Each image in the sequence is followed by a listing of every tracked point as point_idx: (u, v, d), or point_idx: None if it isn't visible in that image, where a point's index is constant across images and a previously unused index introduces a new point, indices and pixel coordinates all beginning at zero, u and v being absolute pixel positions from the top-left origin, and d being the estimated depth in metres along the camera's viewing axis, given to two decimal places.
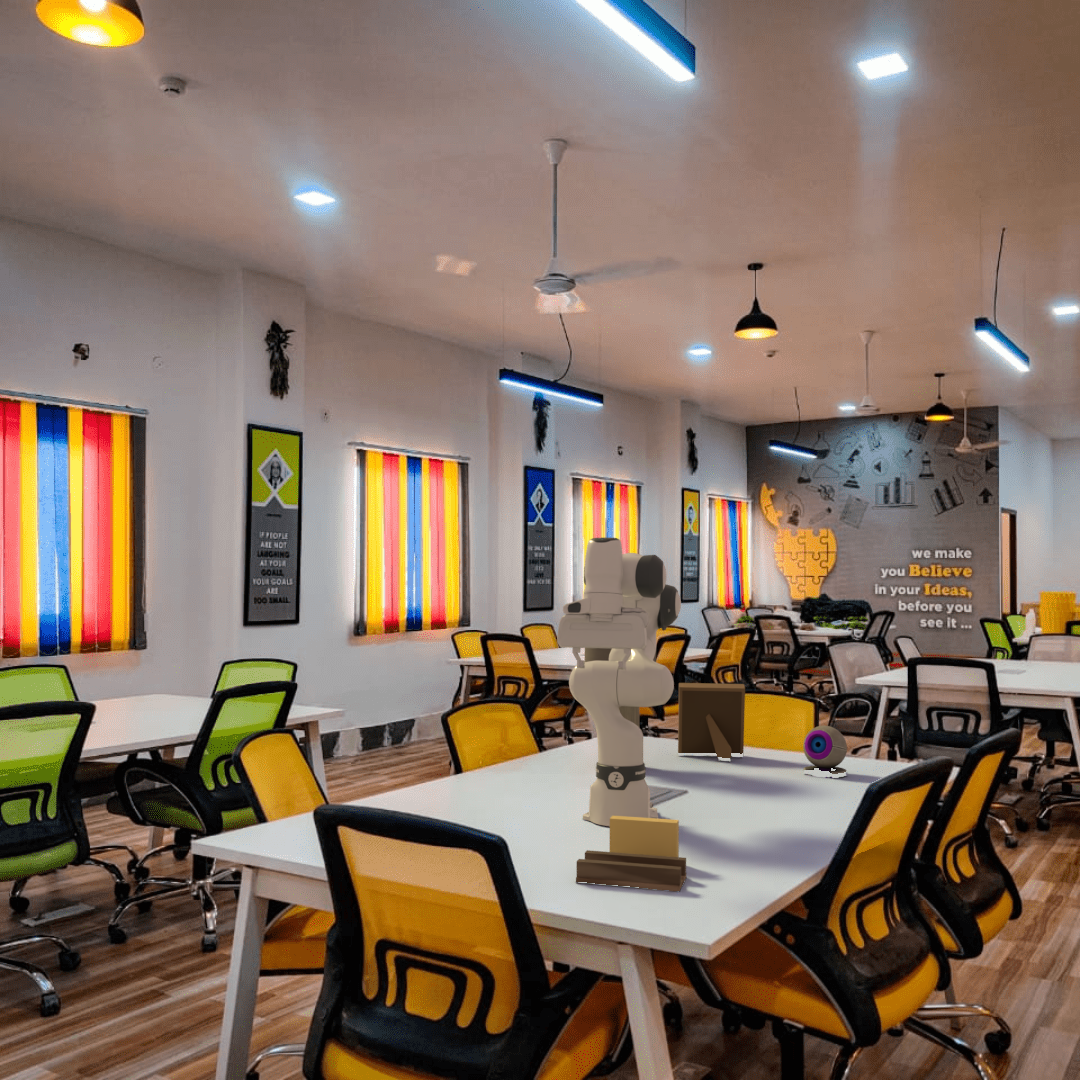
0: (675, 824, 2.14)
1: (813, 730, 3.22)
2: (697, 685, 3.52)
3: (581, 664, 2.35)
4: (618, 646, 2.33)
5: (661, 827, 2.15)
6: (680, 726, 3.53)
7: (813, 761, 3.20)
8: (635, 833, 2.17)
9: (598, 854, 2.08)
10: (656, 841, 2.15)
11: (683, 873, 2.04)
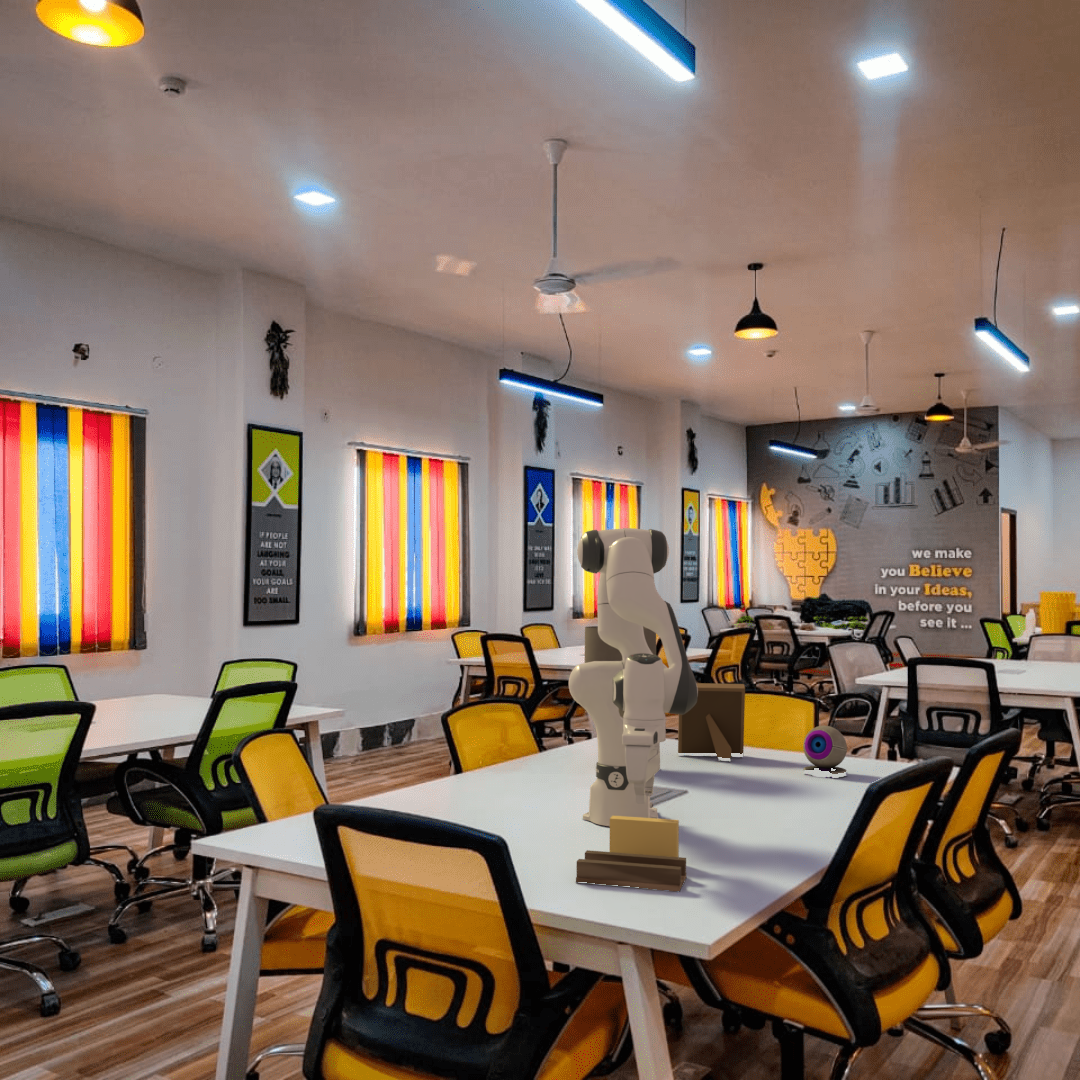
0: (675, 824, 2.14)
1: (813, 730, 3.22)
2: (697, 685, 3.52)
3: None
4: (655, 772, 2.21)
5: (661, 827, 2.15)
6: (680, 726, 3.53)
7: (813, 761, 3.20)
8: (635, 833, 2.17)
9: (598, 854, 2.08)
10: (656, 841, 2.15)
11: (683, 873, 2.04)
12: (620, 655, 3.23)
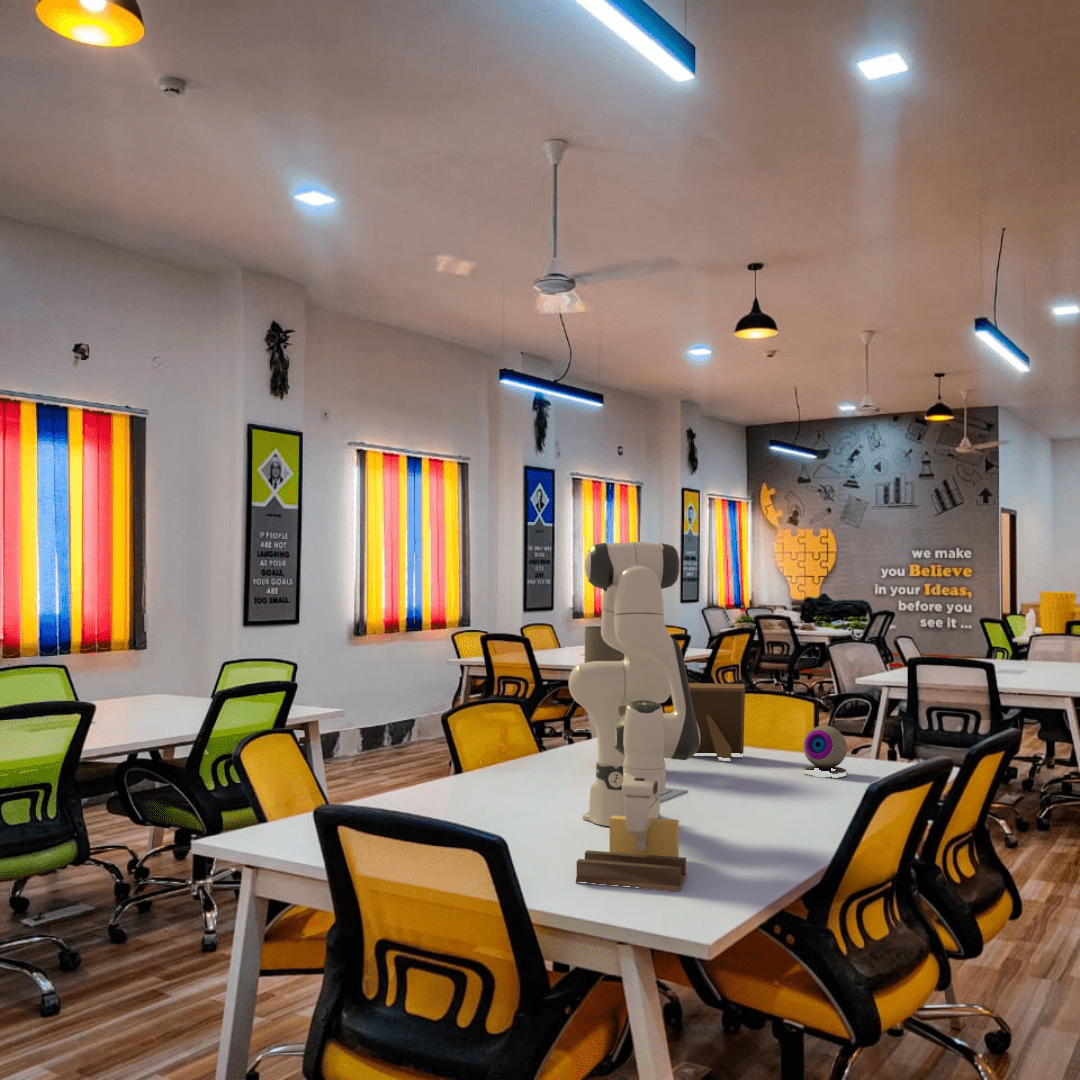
0: (675, 824, 2.14)
1: (813, 730, 3.22)
2: (697, 685, 3.52)
3: (646, 845, 2.15)
4: None
5: (661, 827, 2.15)
6: None
7: (813, 761, 3.20)
8: None
9: (598, 854, 2.08)
10: (656, 841, 2.15)
11: (683, 873, 2.04)
12: (620, 655, 3.23)
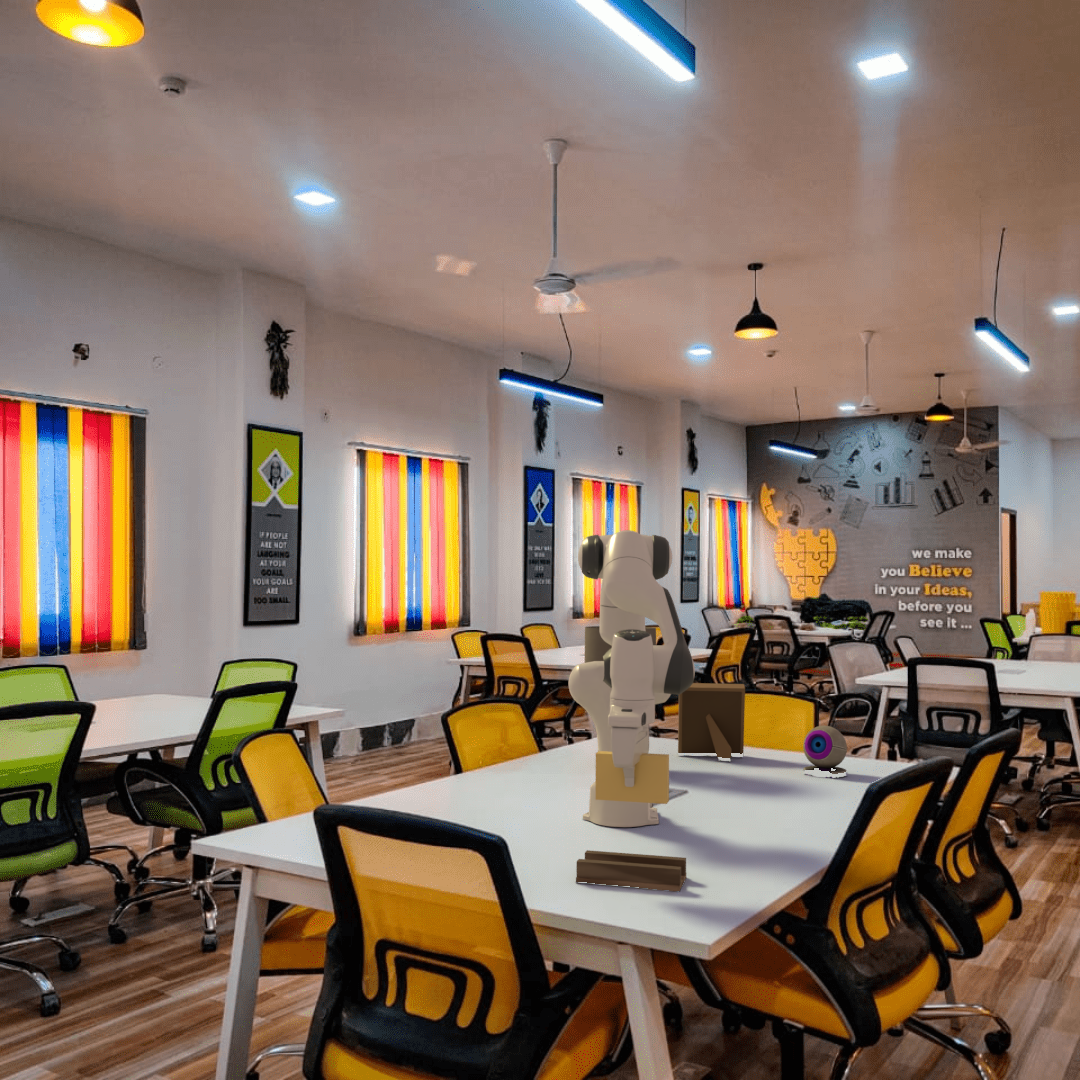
0: (665, 758, 2.02)
1: (813, 730, 3.22)
2: (697, 685, 3.52)
3: (634, 781, 2.03)
4: None
5: (650, 761, 2.02)
6: (680, 726, 3.53)
7: (813, 761, 3.20)
8: (622, 768, 2.04)
9: (598, 854, 2.08)
10: (645, 777, 2.03)
11: (683, 873, 2.04)
12: None
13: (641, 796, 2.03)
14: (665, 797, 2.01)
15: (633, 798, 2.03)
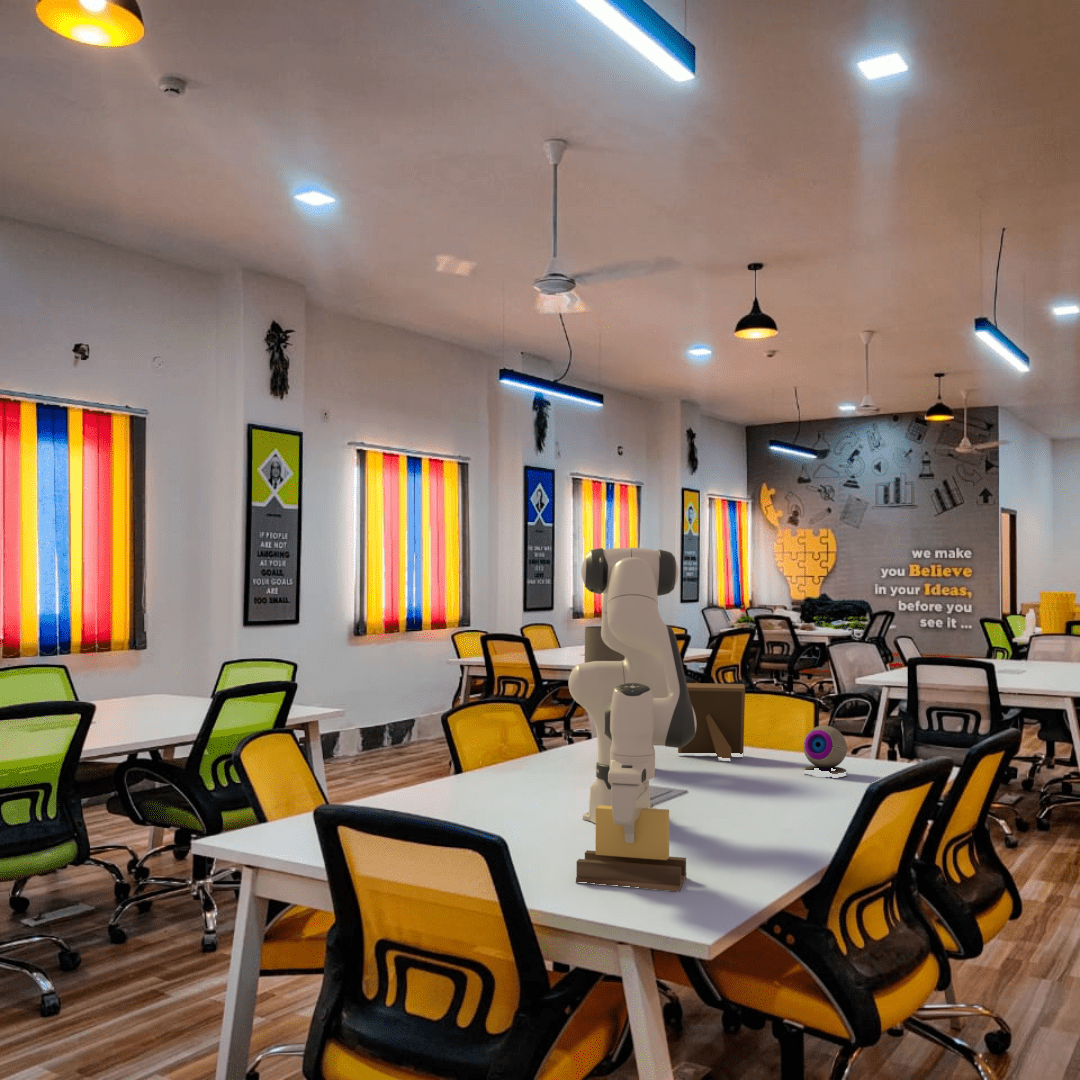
0: (665, 814, 2.01)
1: (813, 730, 3.22)
2: (697, 685, 3.52)
3: (634, 837, 2.02)
4: None
5: (650, 817, 2.02)
6: None
7: (813, 761, 3.20)
8: None
9: None
10: (645, 832, 2.02)
11: (683, 873, 2.04)
12: (620, 655, 3.23)
13: (641, 852, 2.02)
14: (665, 853, 2.01)
15: (633, 854, 2.02)
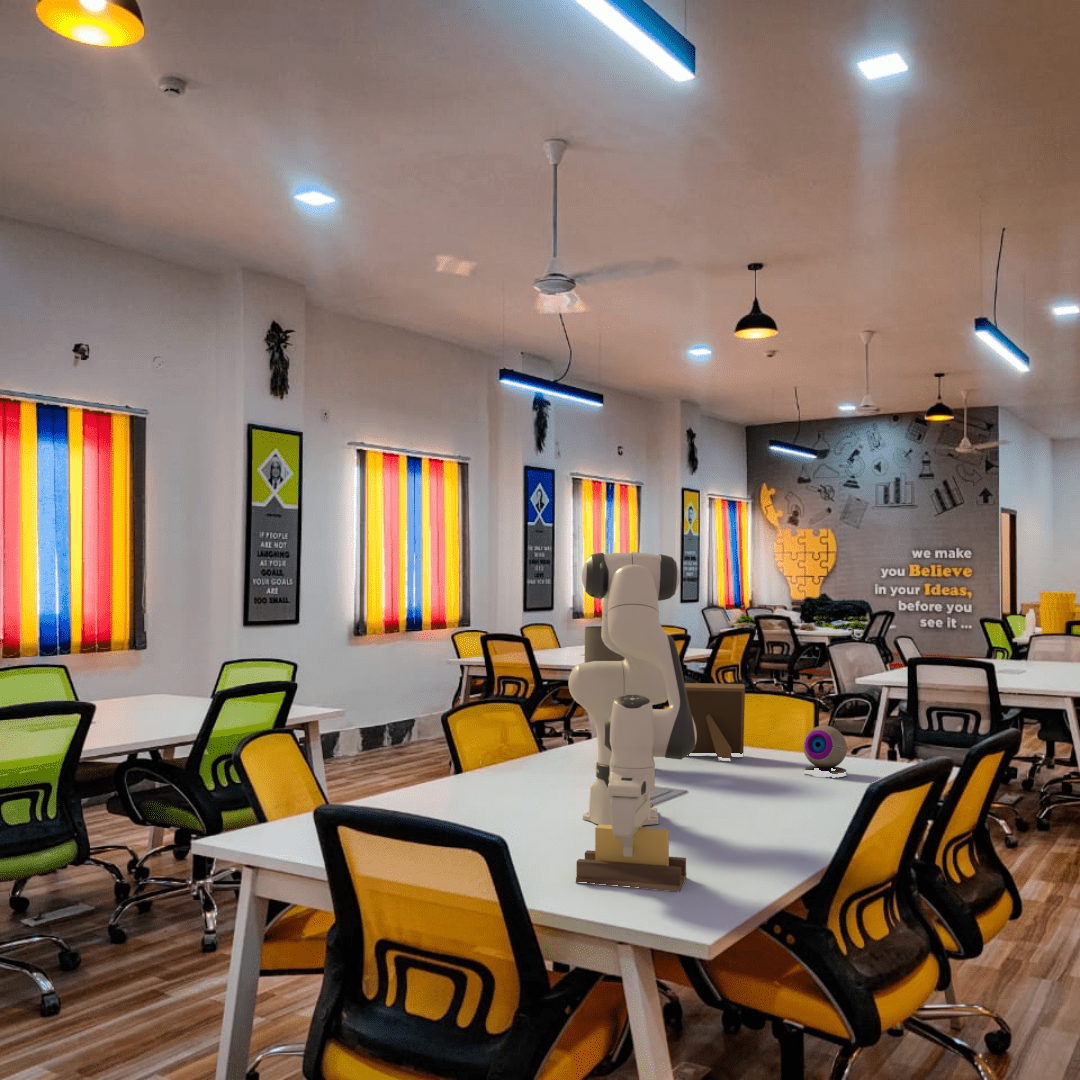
0: (665, 834, 2.01)
1: (813, 730, 3.22)
2: (697, 685, 3.52)
3: (633, 851, 2.01)
4: (644, 821, 2.08)
5: (650, 837, 2.02)
6: None
7: (813, 761, 3.20)
8: None
9: None
10: (645, 852, 2.02)
11: (683, 873, 2.04)
12: (620, 655, 3.23)
13: None
14: None
15: None
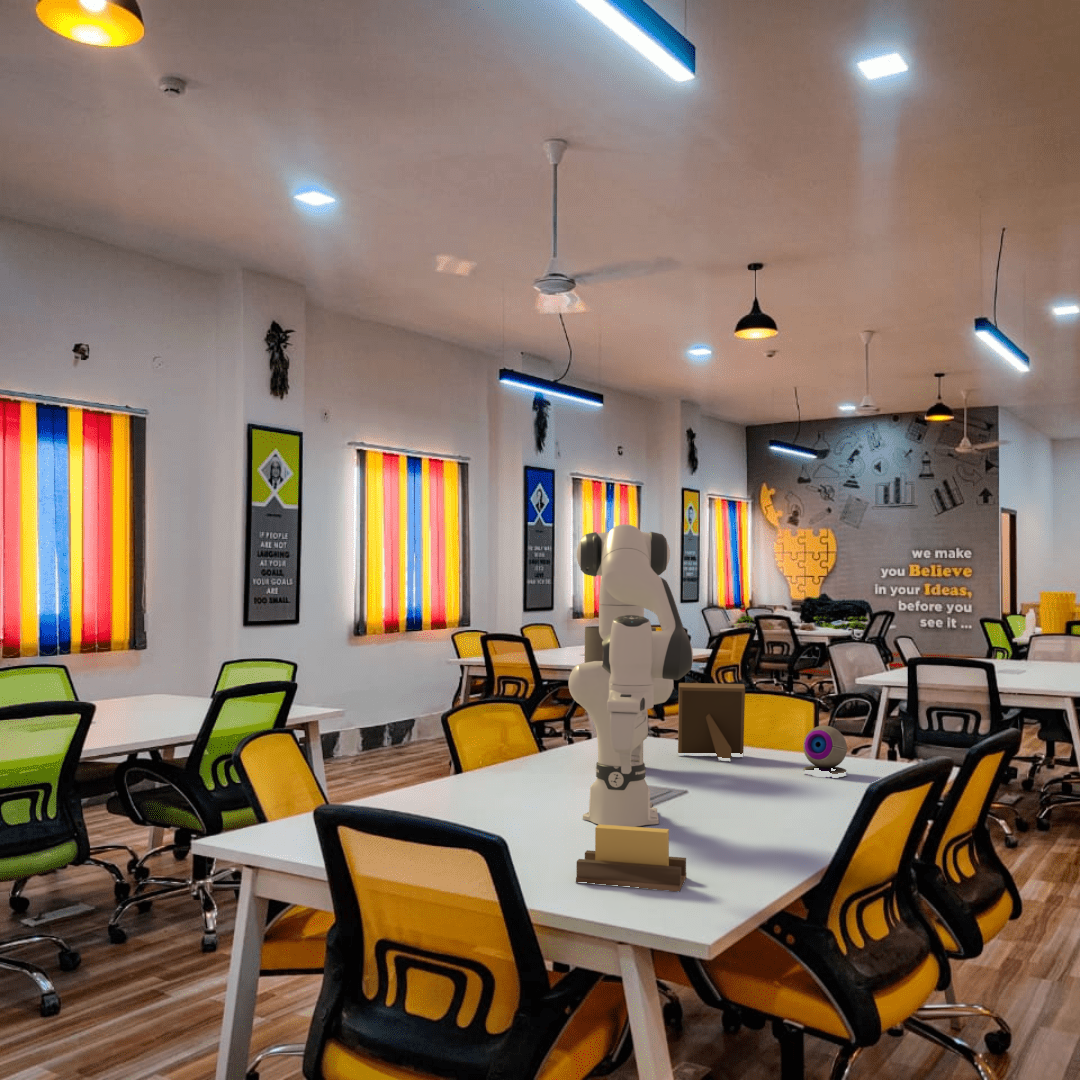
0: (665, 834, 2.01)
1: (813, 730, 3.22)
2: (697, 685, 3.52)
3: (631, 768, 2.02)
4: (643, 740, 2.10)
5: (650, 837, 2.02)
6: (680, 726, 3.53)
7: (813, 761, 3.20)
8: (622, 843, 2.03)
9: None
10: (645, 852, 2.02)
11: (683, 873, 2.04)
12: None
13: None
14: None
15: None
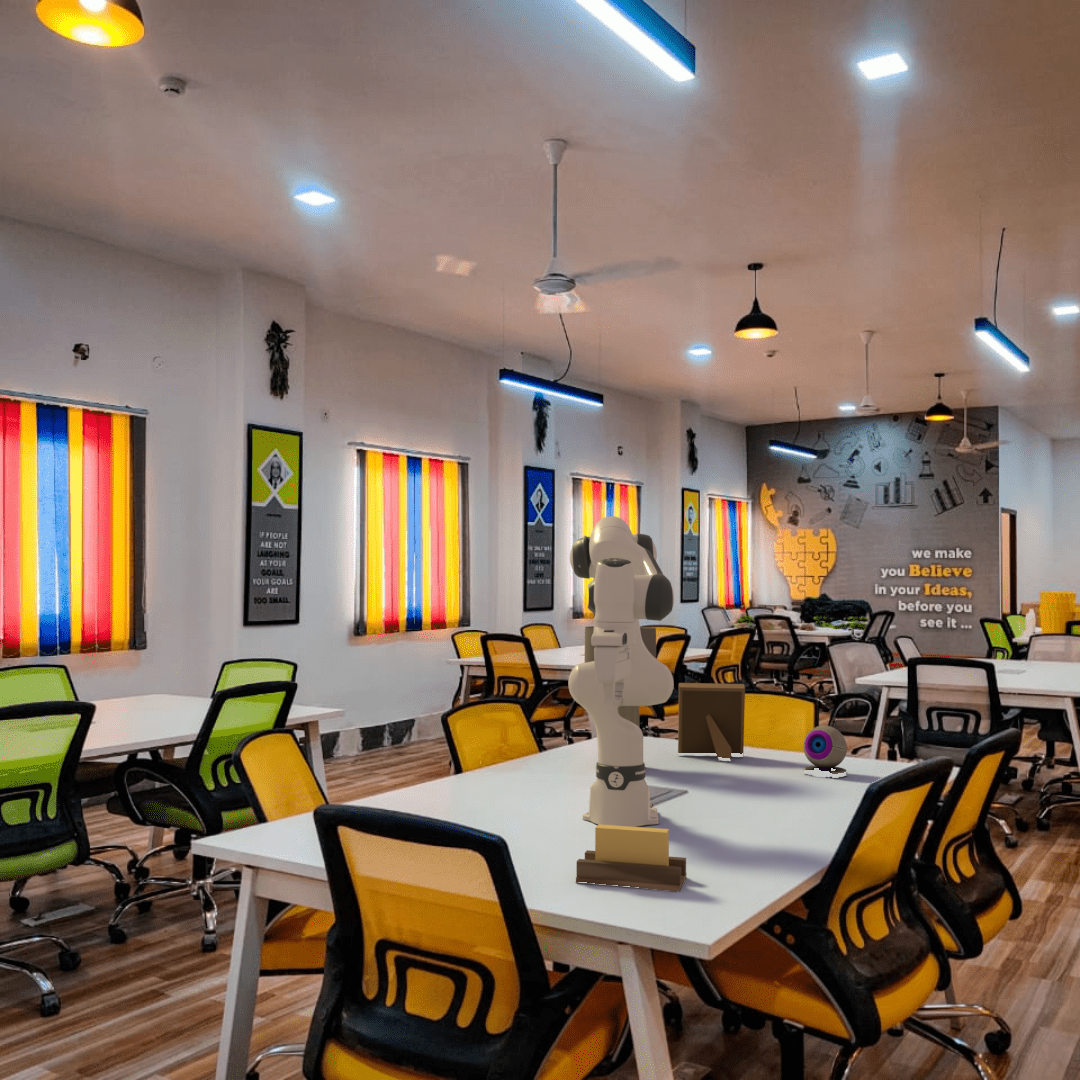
0: (665, 834, 2.01)
1: (813, 730, 3.22)
2: (697, 685, 3.52)
3: (614, 700, 2.14)
4: (626, 676, 2.22)
5: (650, 837, 2.02)
6: (680, 726, 3.53)
7: (813, 761, 3.20)
8: (622, 843, 2.03)
9: None
10: (645, 852, 2.02)
11: (683, 873, 2.04)
12: None
13: None
14: None
15: None
